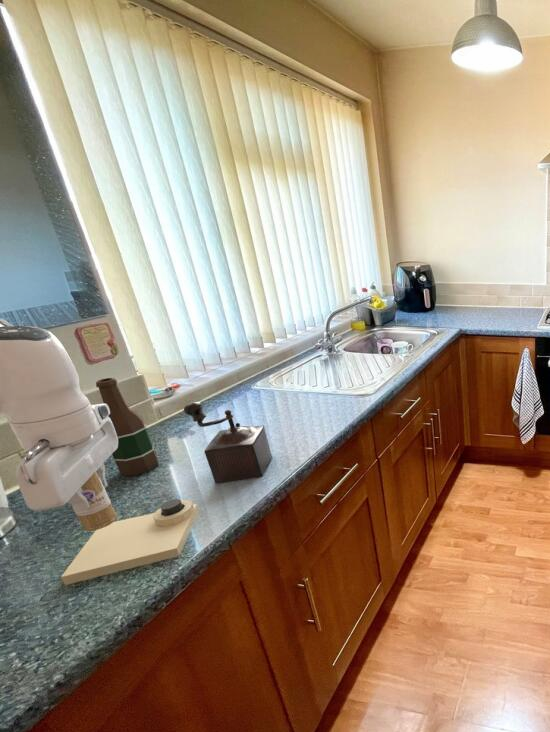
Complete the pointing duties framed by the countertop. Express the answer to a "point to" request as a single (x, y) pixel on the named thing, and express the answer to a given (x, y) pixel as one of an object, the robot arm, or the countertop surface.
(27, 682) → the countertop surface
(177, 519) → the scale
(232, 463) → the manual coffee grinder
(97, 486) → the sprinkles bottle
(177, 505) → the button
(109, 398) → the beer bottle
